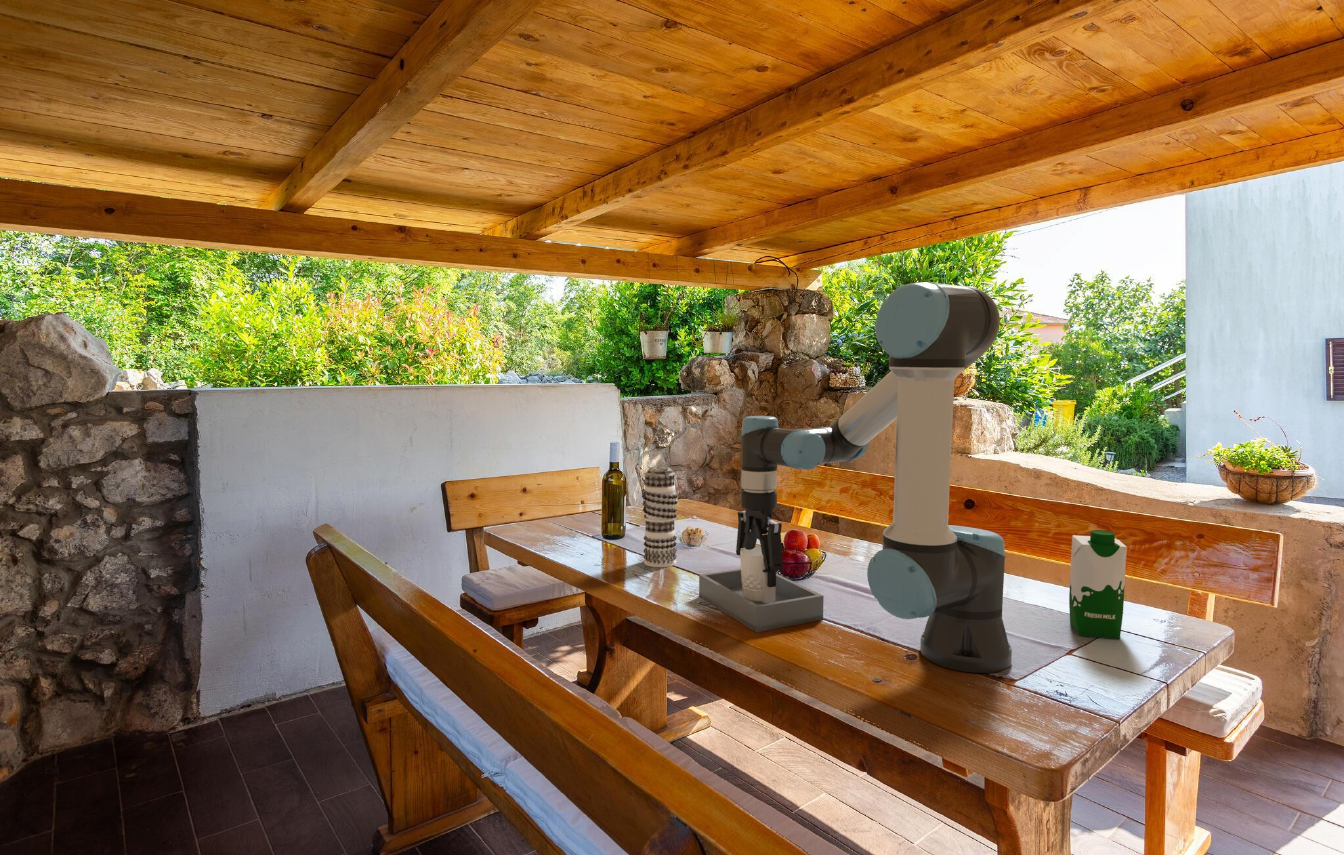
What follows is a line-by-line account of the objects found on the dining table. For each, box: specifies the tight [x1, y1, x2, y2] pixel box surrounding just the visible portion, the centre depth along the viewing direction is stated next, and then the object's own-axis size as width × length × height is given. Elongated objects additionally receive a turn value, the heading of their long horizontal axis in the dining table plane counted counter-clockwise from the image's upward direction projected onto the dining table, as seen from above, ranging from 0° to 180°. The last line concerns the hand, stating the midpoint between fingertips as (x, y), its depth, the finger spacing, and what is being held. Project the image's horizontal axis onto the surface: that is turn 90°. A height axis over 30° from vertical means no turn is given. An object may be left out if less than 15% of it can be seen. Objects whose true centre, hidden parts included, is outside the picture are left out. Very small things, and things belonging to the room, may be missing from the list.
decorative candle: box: [641, 466, 678, 568], centre depth 191 cm, size 9×9×25 cm
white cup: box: [739, 545, 770, 601], centre depth 157 cm, size 8×8×10 cm
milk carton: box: [1068, 529, 1128, 640], centre depth 142 cm, size 9×9×20 cm
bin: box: [698, 568, 825, 633], centre depth 157 cm, size 24×16×5 cm, turn 25°
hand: (758, 595), depth 157 cm, fingers closed on white cup, 7 cm apart
